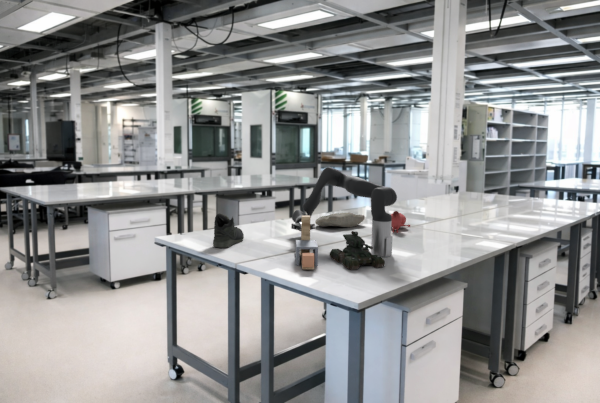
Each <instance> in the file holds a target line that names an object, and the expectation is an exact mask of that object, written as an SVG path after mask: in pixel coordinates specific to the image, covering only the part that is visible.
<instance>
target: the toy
mask: <svg viewBox="0 0 600 403" xmlns="http://www.w3.org/2000/svg"><path fill="white" fill-rule="evenodd" d="M390 215H391V216H392V221H391V229H392V230H391V233H394V232H395V231H396V233H399V229H400V228H403V227H408V228H409V227H411V224H406V223H407V222H406V221H407V217H406V216H405V215H404V214H402V213H401V212H399V211H398V210H395V211H393V212H392V213H390Z"/></svg>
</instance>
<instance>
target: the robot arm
mask: <svg viewBox="0 0 600 403" xmlns="http://www.w3.org/2000/svg"><path fill="white" fill-rule="evenodd" d="M326 185H330V186H331V187H332V186H333V187H337V188H338V187H339V188H342V189H345V191H347V193H350V194H351V195H354V196H357V197H360V198H368V199H370V213H371V216H372V217H371V218H372V220H371V221H372V222H371V242H370V244H371V245H370V246H372V247H373V249H372V250H371V249H370V253H371V254H372V255H378V256H380V257H382V258H387V257H390V256H393V255H392V254H393V236H392V226H391V221H392V216H391V213H388V212H386V207H390V206H392V205H394V204H395V203H396V202H397V198H398V196H397V192H396V191H395V190H394V189H393V188H392V187H390V186H385V185H384V186H383V185H380V184H376V183H374V182H371V181H369V180H367V179H364V178H361V177H359V176H354V175H347V174H346V173H344V172H342V171H341V170H339V169H336V168H333V167H331V166H327V167H325V168H324V169H323V170H322V171H321V172H320V175H319V176H318V179H317V181H316V184H315V185H314V187H313V189H312V191H311V193H310V195H309V196H308V197H307V198H306V200H305V201H304V203H303V204H302V210H304V211H302V210H300V209H297V210H295V211H293V213H292V216H291V219H292V221H293V222H294V223H291V226H290V228H291V229H293V230H296V231H299V232H301V219H302V215H309V216H310V219H311V218H312V215H313V213H314V212H315V210H316V209H317V207H318V206H319V204H320V202H321V200H322V191H323V189H324V187H325V186H326ZM315 226H316V223H310V231H311V230H315V228H316V227H315Z"/></svg>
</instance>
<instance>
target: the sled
mask: <svg viewBox="0 0 600 403" xmlns="http://www.w3.org/2000/svg"><path fill="white" fill-rule="evenodd" d="M310 224H311V218H310V216H309V215H302V219H301V231H300V232H301V233H300V235H301V236H300V240H311V230H310ZM299 253H300V258H299V259H300V263H301V265H302V253H311V249H300V251H299ZM301 268H302V270H315V266H314V267H302V266H301Z"/></svg>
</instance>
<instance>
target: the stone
mask: <svg viewBox="0 0 600 403" xmlns="http://www.w3.org/2000/svg"><path fill="white" fill-rule="evenodd" d="M365 218H366V217H365V215H364V214H363V215H362V214H356V213H351V212H341V213H339V212H336V213H335V212H334V213H330V214H328V215H323V216H319V217H318V218H316V219H315V223H314V224H315V225H316V226H319V227H340V228H341V227H342V228H352V227H357V226H358V225H360V224H361V223H362V222H364V220H365Z"/></svg>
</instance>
